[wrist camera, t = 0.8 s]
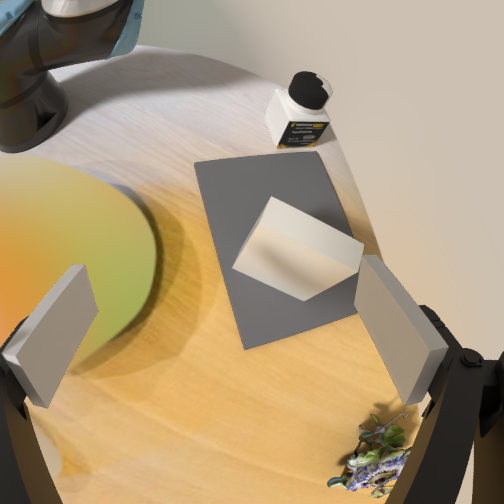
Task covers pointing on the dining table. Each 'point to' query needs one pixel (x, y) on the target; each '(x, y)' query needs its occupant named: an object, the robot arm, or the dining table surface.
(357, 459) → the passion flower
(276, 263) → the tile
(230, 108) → the dining table surface
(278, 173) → the mat
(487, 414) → the robot arm
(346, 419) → the dining table surface
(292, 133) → the medicine bottle
